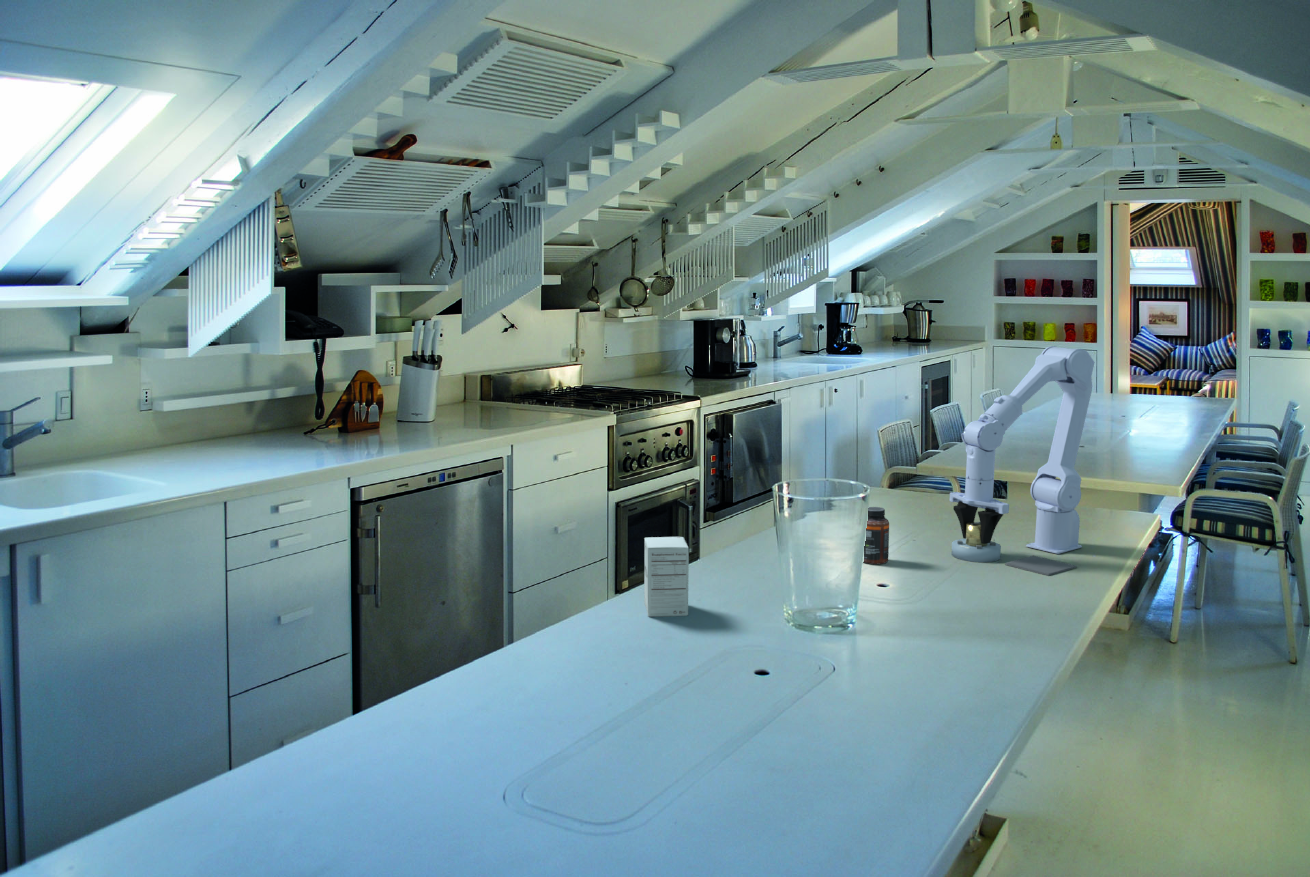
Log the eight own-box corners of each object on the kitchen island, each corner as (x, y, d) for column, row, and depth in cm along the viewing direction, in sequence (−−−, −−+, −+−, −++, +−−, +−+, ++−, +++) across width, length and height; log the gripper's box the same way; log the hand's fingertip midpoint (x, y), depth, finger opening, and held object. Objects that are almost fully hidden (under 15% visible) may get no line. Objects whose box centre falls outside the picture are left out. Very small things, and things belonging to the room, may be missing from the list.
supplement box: (643, 604, 192) (643, 536, 190) (684, 603, 193) (684, 535, 191) (646, 617, 185) (646, 547, 183) (688, 616, 186) (689, 546, 184)
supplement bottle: (886, 558, 224) (888, 505, 223) (889, 565, 218) (891, 512, 217) (857, 557, 225) (859, 505, 223) (860, 564, 219) (862, 511, 217)
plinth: (970, 547, 233) (971, 533, 233) (1009, 557, 225) (1010, 543, 225) (941, 554, 227) (942, 540, 227) (981, 564, 219) (981, 550, 219)
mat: (1033, 557, 225) (1033, 555, 225) (1076, 567, 218) (1076, 565, 217) (1005, 564, 219) (1005, 562, 219) (1048, 575, 212) (1048, 573, 212)
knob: (975, 540, 229) (976, 519, 228) (992, 544, 225) (993, 523, 224) (960, 542, 227) (962, 521, 226) (977, 547, 223) (978, 526, 222)
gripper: (940, 474, 228) (937, 535, 230) (993, 485, 216) (990, 550, 218) (963, 471, 231) (960, 531, 234) (1017, 482, 219) (1013, 546, 221)
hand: (976, 540), depth 226 cm, fingers closed on knob, 4 cm apart
